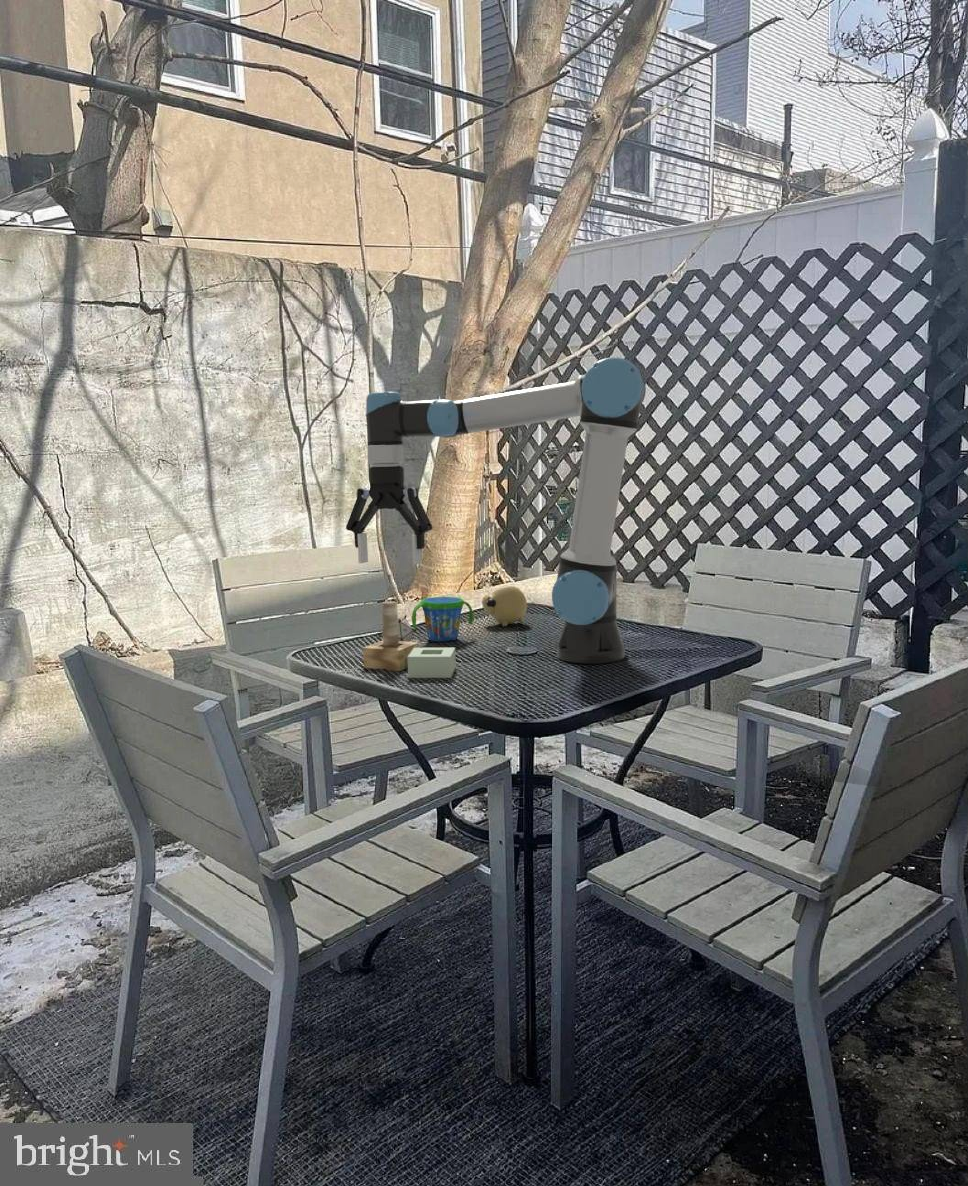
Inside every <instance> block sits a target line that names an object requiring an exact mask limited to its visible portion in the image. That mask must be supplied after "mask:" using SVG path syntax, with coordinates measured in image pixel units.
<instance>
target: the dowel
mask: <svg viewBox="0 0 968 1186" xmlns="http://www.w3.org/2000/svg"><path fill="white" fill-rule="evenodd" d="M398 613H399V612H398V602H397V601H383V602H381V617H382V618H381V619H382V621H381V622H382V632H383V638H382V640H383V647H392V648H395V647H398V646H399V637H398V618H399V616H398V615H399V614H398Z"/></svg>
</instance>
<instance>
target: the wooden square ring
mask: <svg viewBox="0 0 968 1186" xmlns="http://www.w3.org/2000/svg"><path fill="white" fill-rule="evenodd" d="M414 648H420V642H418V641H417V642H415V641H410V642H406V641H399V646H398V647H395V648H392V647H383V639H382V640H380V641H378V642H375V643H372V644H369V645H366V646H364V647H363V648H362V651H363V652H362V653H363V655H362V656H363V657H362V659H363V668H365V669H373V670H383V669H386V670H385V671H395V672H396V671H397V672H401V671H403V670H404V669H405V670H406V669H408V655H409V654H410V653H411V651H412V650H413V649H414Z"/></svg>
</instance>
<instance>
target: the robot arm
mask: <svg viewBox="0 0 968 1186" xmlns="http://www.w3.org/2000/svg"><path fill="white" fill-rule="evenodd" d="M646 391H647V387H646V382H645V379H644V376H643V375H642V374H641V372H640V370H639V369H638V367H637V365H635V364H634V363H633V362H632V361H630V360H628V359H627V358H621V357H618V356H617V357H614V356H613V357H610V356H609V357H606V358H603V359H600V360H598V361H596V362H595V363H593V364H592V365H591V366H590V367H589V368H588V370H587V371H586V373H585V374H580V375H579V376H578V377H577V378H576V379H575V381H574V380H573V381H568V382H567V381H566V382H563V383H562V382H561V383H557V384H551V385H546V386H545V385H544V386H539V387H532V388H526V389H525V388H524V389H521V390H513V391H508V392H504V393H497V394H490V395H483V396H480V397H479V396H478V397H472V398H467V399H460V400H452V399H441V398H439V399H438V398H436V399H430V400H429V399H428V400H427V399H426V400H413V401H412V400H411V401H408V400H402V395H401V393H400V392H397V391H379V392H377V391H376V392H371V393H369V394H368V395H367V396H366V404H365V405H366V406H365V407H366V408H365V410H366V411H365V412H366V413H365V417H366V418H365V419H366V433H367V459H368V460H367V461H368V465H370V467H369V468H368V482H369V486H370V487H369V488H367V487H363V488H362V487H360V488H357V490H356V500H355V502H354V505H353V507H352V509H351V513H350V516H349V518H348V520H347V523H346V526H345V529H346V530H347V531H350V532H352V533H354V534H353V535H354V547H355V549H357V554H358V555H357V557H358V564H365V563H368V562H369V556H368V555H369V554H368V532H366V531H365V530H366V528H367V526H368V525H369V524H370V522H371V520H372V519H373V518H374V517H375V515H376V514H377V512H378V511H379V510H384V509H388V510H396V511H397V512H398V513H399V514H400V516H401V517H402V518H403V520H405V522H407V523H406V524H408V526H409V527H410V528H411V529H412V531H413V532H414V533H413V534H411V551H412V566H417V565H422V564H423V555H422V553H423V552H422V549H425V544H426V543H425V534H426V532H430V531H432V530H433V528H434V527H433V525H432V523H431V521H430V518H429V517H428V515H427V512H426V510H425V508H424V506H423V504H422V501H421V500H420V498H419V492H418V491H419V490H418V488H417V487H408V488H407V489H405V486H404V483H405V474H404V473H405V469H404V467H403V466H402V465H401V464H403V463H404V450H403V449H404V448H403V447H404V445H403V439H404V437H405V438H409V437H412V438H413V437H415V438H416V437H420V438H421V437H441V438H444V439H446V438H447V439H449V438H455V437H457V436H462V435H468V434H472V433H479V432H486V431H491V430H498V429H505V428H512V427H519V426H524V425H531V424H539V423H545V422H549V421H557V420H563V419H570V418H576V417H579V424H580V426H581V427H582V429H583V430H584V432H585V436H584V443H583V450H582V457H581V464H580V471H579V476H578V484H577V491H576V495H575V496H576V497H575V503H574V510H573V511H574V512H573V517H572V518H573V519H572V525H571V533H570V539H569V545H568V548H567V549H566V550H565V551H563V552H562V553H561V554H560V556H559V557H560V558H559V564H558V569H557V577H556V581H555V582H554V584H553V586H552V590H551V601H552V605H553V608H554V610H555V611H556V614H558V616H559V617H560V618H562V619H563V620H564V624H563V628H562V630H561V635H560V637H559V641H558V644H557V645H556V646H557V647H556V648H557V649H556V654H557V655H556V657H557V658H558V659H559V660H561V661H564V662H568V663H574V664H587V665H588V664H591V665H593V664H597V665H598V664H608V663H614V662H618V661H621V660H623V659H624V658H625V644H624V643H623V639H622V635H621V632H620V629H619V627H618V623H617V620H618V619H617V606H618V605H617V572H618V571H619V570H618V567H617V559H616V558H615V557H614V556H612V555H611V551H612V544H613V537H614V531H615V524H616V518H617V512H618V506H619V505H618V504H619V498H620V492H621V483H622V478H623V471H624V467H625V466H624V465H625V460H626V458H625V457H626V453H627V447H628V439H629V438H630V436H632V435H633V434H634V433H635V432H637V429H638V424H639V419H640V417H639V416H640V411H641V406H642V405H643V402H644V400H645V398H646V397H645V396H646ZM369 497H370V498H371V501H370V503H369V504H368V505H367V508H366V510H365V512H364V513H363V511H364V508H365V506H366V503H367V500H368V498H369ZM405 497H406V498H407V499H408V502H409V504H410V506H411V509H412V510H413V512H414V513H413V512H412V510H411V509H410V508H409V507H408V504H407V503H406V502H405V500H404V498H405ZM414 514H415V515H414Z"/></svg>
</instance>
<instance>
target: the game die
mask: <svg viewBox="0 0 968 1186" xmlns="http://www.w3.org/2000/svg"><path fill="white" fill-rule="evenodd" d="M407 617H408V616H407V614H405V615H404V616H403V617H398V637H399V641H406V642H412V641H411V640H412V638H413V634H414V632H416V631H418V628H416V629H415V628H414V627H413V626H412V625H411V624H410V623H409V622H408V620H407V619H406V618H407ZM378 638H382V639H383V631H382V632H381V634H379V635H378Z"/></svg>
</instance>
